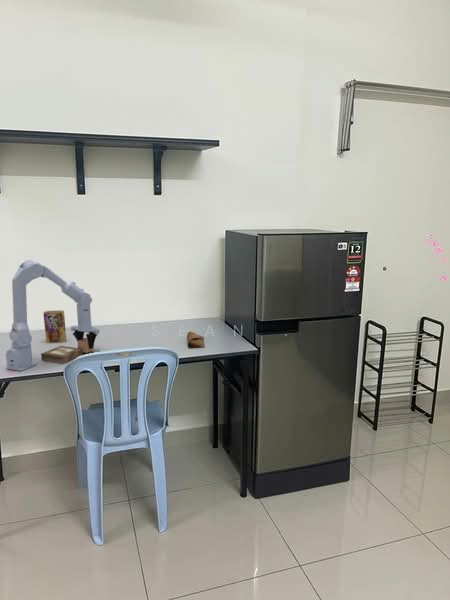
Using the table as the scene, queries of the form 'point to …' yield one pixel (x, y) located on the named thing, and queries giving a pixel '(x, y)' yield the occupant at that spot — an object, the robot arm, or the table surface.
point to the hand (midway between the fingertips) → (86, 347)
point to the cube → (84, 345)
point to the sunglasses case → (195, 340)
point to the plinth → (61, 354)
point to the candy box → (55, 326)
